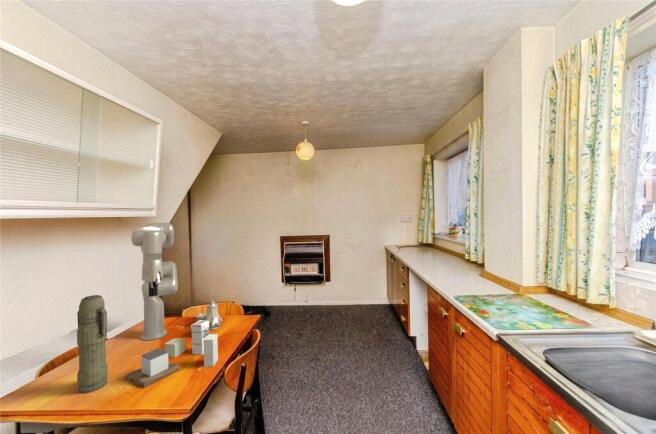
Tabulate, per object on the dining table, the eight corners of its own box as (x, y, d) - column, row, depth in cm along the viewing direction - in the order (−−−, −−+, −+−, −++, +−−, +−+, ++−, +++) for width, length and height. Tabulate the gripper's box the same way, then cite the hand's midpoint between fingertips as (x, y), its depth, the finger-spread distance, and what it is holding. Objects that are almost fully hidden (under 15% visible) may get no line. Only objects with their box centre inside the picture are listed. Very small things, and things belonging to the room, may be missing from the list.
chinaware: (194, 324, 174) (191, 299, 173) (222, 317, 180) (219, 293, 180) (191, 342, 148) (187, 312, 147) (224, 333, 154) (220, 304, 154)
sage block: (164, 356, 130) (164, 343, 130) (174, 350, 136) (174, 338, 136) (175, 357, 129) (174, 344, 129) (184, 351, 134) (184, 339, 135)
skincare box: (208, 360, 125) (208, 334, 125) (218, 359, 125) (217, 333, 126) (203, 367, 119) (203, 339, 119) (213, 366, 119) (213, 339, 120)
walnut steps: (125, 377, 112) (125, 373, 112) (160, 362, 124) (160, 357, 124) (144, 387, 105) (144, 382, 105) (179, 370, 117) (179, 365, 117)
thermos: (88, 379, 111) (87, 293, 112) (116, 379, 111) (115, 293, 111) (67, 393, 103) (66, 300, 103) (97, 393, 102) (96, 299, 102)
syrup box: (202, 355, 130) (202, 324, 130) (191, 354, 131) (191, 323, 131) (210, 349, 136) (209, 320, 136) (199, 348, 137) (199, 319, 137)
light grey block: (150, 359, 109) (150, 376, 109) (168, 351, 115) (168, 368, 115) (141, 355, 113) (141, 372, 112) (158, 348, 119) (159, 364, 119)
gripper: (135, 257, 130) (136, 296, 129) (153, 259, 122) (153, 300, 122) (152, 255, 136) (152, 292, 136) (169, 256, 129) (170, 295, 129)
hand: (153, 295), depth 129 cm, fingers closed
